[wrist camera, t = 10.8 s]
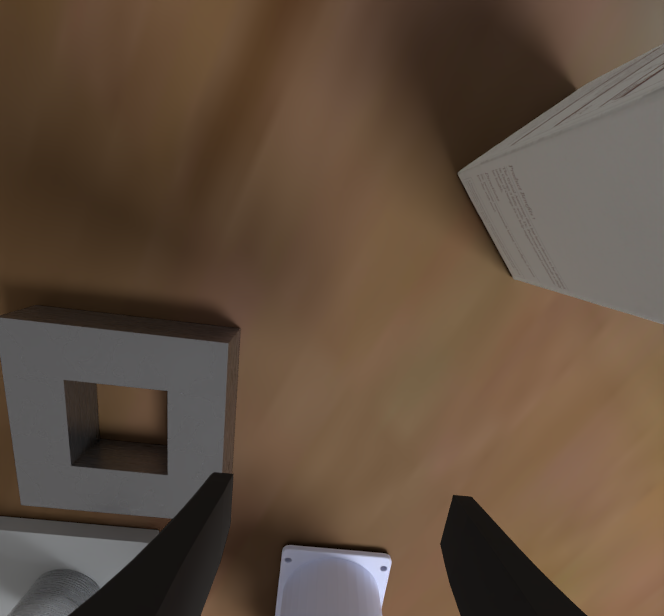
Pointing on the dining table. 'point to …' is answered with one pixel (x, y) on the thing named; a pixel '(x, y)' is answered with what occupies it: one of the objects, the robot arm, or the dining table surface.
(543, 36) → the dining table surface
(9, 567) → the mat
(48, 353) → the housing
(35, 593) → the white gold-topped cylinder
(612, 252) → the supplement box
